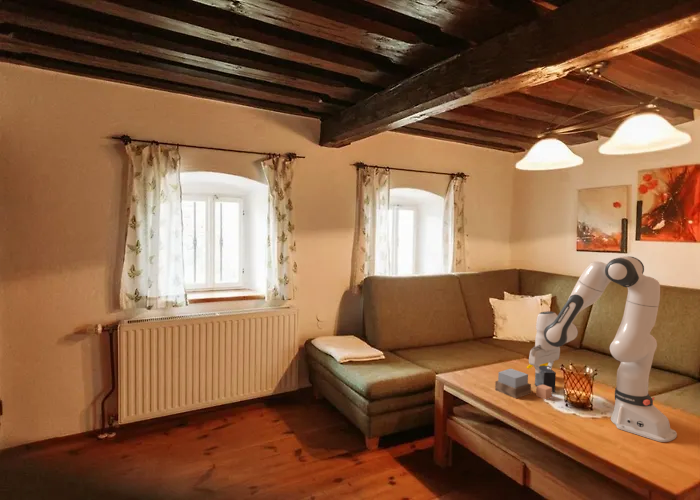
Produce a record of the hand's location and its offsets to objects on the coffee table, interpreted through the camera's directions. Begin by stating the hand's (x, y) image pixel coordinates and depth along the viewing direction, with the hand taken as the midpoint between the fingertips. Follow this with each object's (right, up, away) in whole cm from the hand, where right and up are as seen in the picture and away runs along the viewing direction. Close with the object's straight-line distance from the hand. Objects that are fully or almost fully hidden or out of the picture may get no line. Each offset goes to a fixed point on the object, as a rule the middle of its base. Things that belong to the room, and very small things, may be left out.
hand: (543, 371), depth 200 cm
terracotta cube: (0, -13, 0) cm, 13 cm away
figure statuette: (+12, -12, +26) cm, 31 cm away
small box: (+6, -13, +11) cm, 17 cm away
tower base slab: (-13, -13, +6) cm, 19 cm away
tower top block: (-13, -8, +6) cm, 16 cm away
